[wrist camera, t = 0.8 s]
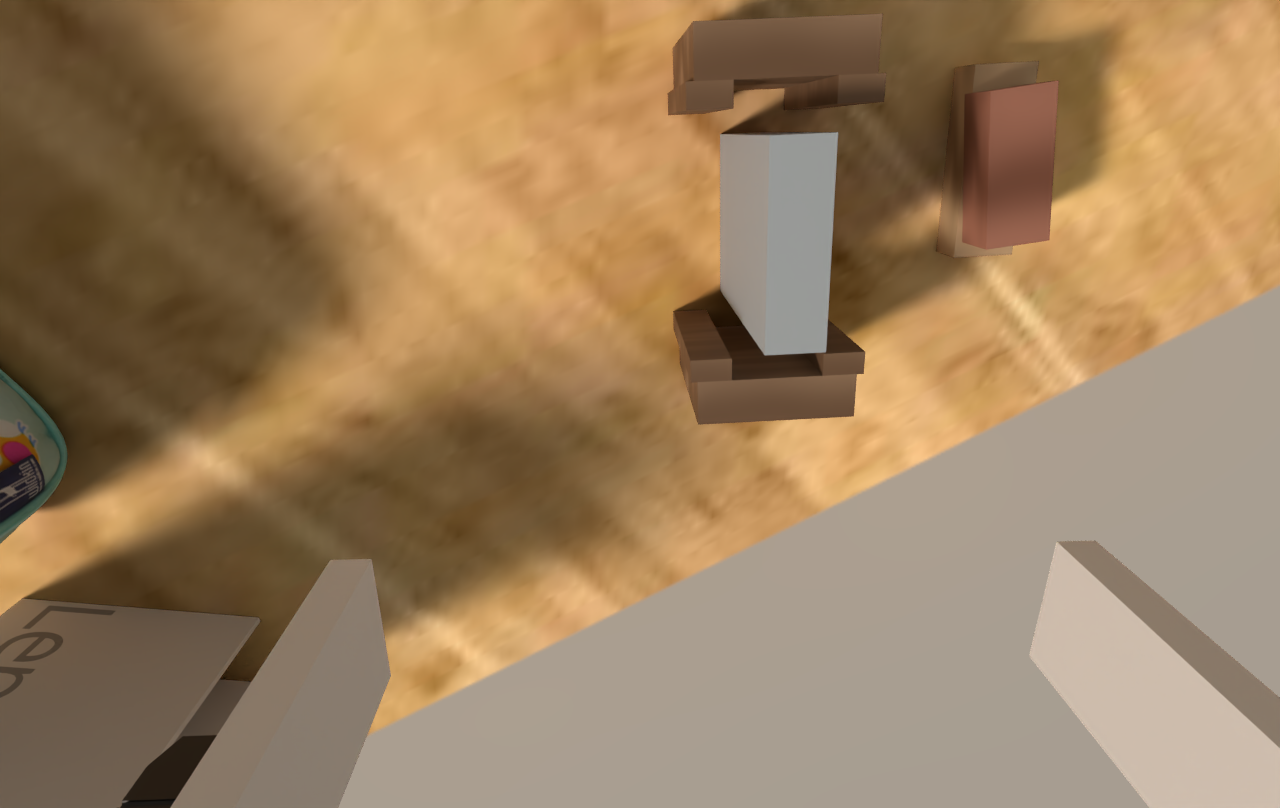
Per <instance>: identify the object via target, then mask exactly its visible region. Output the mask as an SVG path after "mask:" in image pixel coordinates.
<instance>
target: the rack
mask: <svg viewBox="0 0 1280 808" xmlns="http://www.w3.org/2000/svg"><path fill="white" fill-rule="evenodd" d="M882 16H883V14H862V15H837V16H813V17H788V18H764V19H739V20H715V21H693V22H692V23H691V25H690V26H689V27H688V29H687V30H686V31H685V33H684V34H683V35H682V37H681V38H680V39H679V41H678V42H677V43H676V45H675V46H674V47H673V74H674V90H672V91H671V92H669V93H668V115H681V114H704V113H710V112H715V111H721V110H727V109H732V108H733V90H754V89H777V88H785V93H784V110H795V109H818V108H829V107H838V106H848V105H857V104H867V103H877V102H884V96H885V83H886V73H878V72H879V58H880V44H881V30H882ZM673 320H674V331H675V335H676V338H677V341H678V344H679V347H680V365H681V369H682V372H683V375H684V379H685V382H686V385H687V389H688V392H689V395H690V399H691V402H692V405H693V409H694V412H695V415H696V419H697V422H698V424H717V423H736V422H755V421H774V420H793V419H811V418H830V417H849V416H854V405H855V391H856V377H857V374H864V361H865V351H864V350H862V349H861V348H860V347H859V346H858V345H857V344H856V343H854V342H853V341H852V340H851V339H850V338H849V337H848V336H846V335H845V334H844V333H843V332H842V331H841V330H839V329H838V328H837V327H836V326H835V325H834V324H833V323H831V322H830V321H829V320H828V327H827V345H826V352H822V353H803V354H783V355H764V354H763V352H762V351H761V349H760V348H759V346H758V345H757V343H756V342H755V341H754V339H753V338H752V336H751V335H750V333H749V332H748V330H747V329H746V327H745V326H724V327H715V326H714V324H713V322H712V320H711V318H710V316H709V315H708V313H707V311H706V310H690V311H673Z"/></svg>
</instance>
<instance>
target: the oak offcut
mask: <svg viewBox="0 0 1280 808" xmlns="http://www.w3.org/2000/svg"><path fill="white" fill-rule="evenodd" d="M1038 64H1039V61H1033V62H1012V63H992V64H974V65H969V66H963V67H957V68H955V73H954V82H953V92H952V102H951V112H950V122H949V131H948V141H947V151H946V161H945V171H944V180H943V190H942V200H941V210H940V220H939V229H938V239H937V249H936V251H937V252H940V253H943V254H945V255H948V256H951V257H953V258H958V257H977V256H995V255H1012V248H1013V246H1008V247H1001V248H995V249H988V250H985V249H982V248H979V247H976V246H973V245H969V244H966V243H963V242H962V228H963V164H964V100H965V94H968V93H974V92H981V91H987V90H994V89H1000V88H1006V87H1013V86H1019V85H1025V84H1033V83H1036V78H1037V71H1038Z"/></svg>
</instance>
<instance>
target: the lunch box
mask: <svg viewBox="0 0 1280 808" xmlns="http://www.w3.org/2000/svg"><path fill="white" fill-rule="evenodd" d="M67 456H68V455H67V447H66V444H65V440H64V438H63V436H62V434H61V432H60V431H59V429H58V427H57V425H56V424H55V422H54V421H53V420H52V419H51V418H50V416H49V415H48V414H47V413H46V412H45V410H44V409H43V408H42V407H41V406H40V405H39V404H38V403H37V402H36V401H35V400H34V399H33V398H32V397H31V396H30V395H29V394H28V393H27V392H26V391H24V390H23V389H22V388H21V387H20V386H19V385H18V384H17V383H16V382H14V381H13V380H12V379H11V378H10V377H9V376H8V375H7V374H6V373H5V372H3V371H2V370H1V369H0V543H2V542H3V541H4V540H5V539H6V538H7V537H8V536H9V535H10V534H11V533H12V532H14V531H15V530H16V528H17V527H18V526H19V525H20V524H21V523H23V522H24V521H25V520H26V519H28V518H29V517H30V516H31V515H32V514H34V513H35V512H36V511H37V510H38V509H39V508H40V507H41V506H42V505H43V504H44V503H45V502H46V501H47V500H48V499H49V497H50V496H51V495H52V494H53V492H54V491H55V489H56V488H57V486H58V485H59V483H60V481H61V479H62V476H63V474H64V471H65V469H66V464H67Z"/></svg>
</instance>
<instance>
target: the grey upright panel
mask: <svg viewBox="0 0 1280 808" xmlns="http://www.w3.org/2000/svg"><path fill="white" fill-rule="evenodd" d="M837 144H838V132H758V133H735V134H720V291H721V293H722V294H723V295H724V297H725V298H726V300H727V301H728V303H729V304H730V306H731V307H732V309H733V310H734V311H735V313H736V314H737V316H738V317H739V319H740V320H741V322H742V323H743V325H744V326H745V327H746V329H747V330H748V332H749V333H750V335H751V336H752V338H753V339H754V341H755V342H756V343H757V345H758V346H759V348H760V349H761V351H762V352H763V354H764V355H783V354H803V353H822V352H826V345H827V327H828V309H829V290H830V272H831V254H832V236H833V217H834V199H835V181H836V162H837Z"/></svg>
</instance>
